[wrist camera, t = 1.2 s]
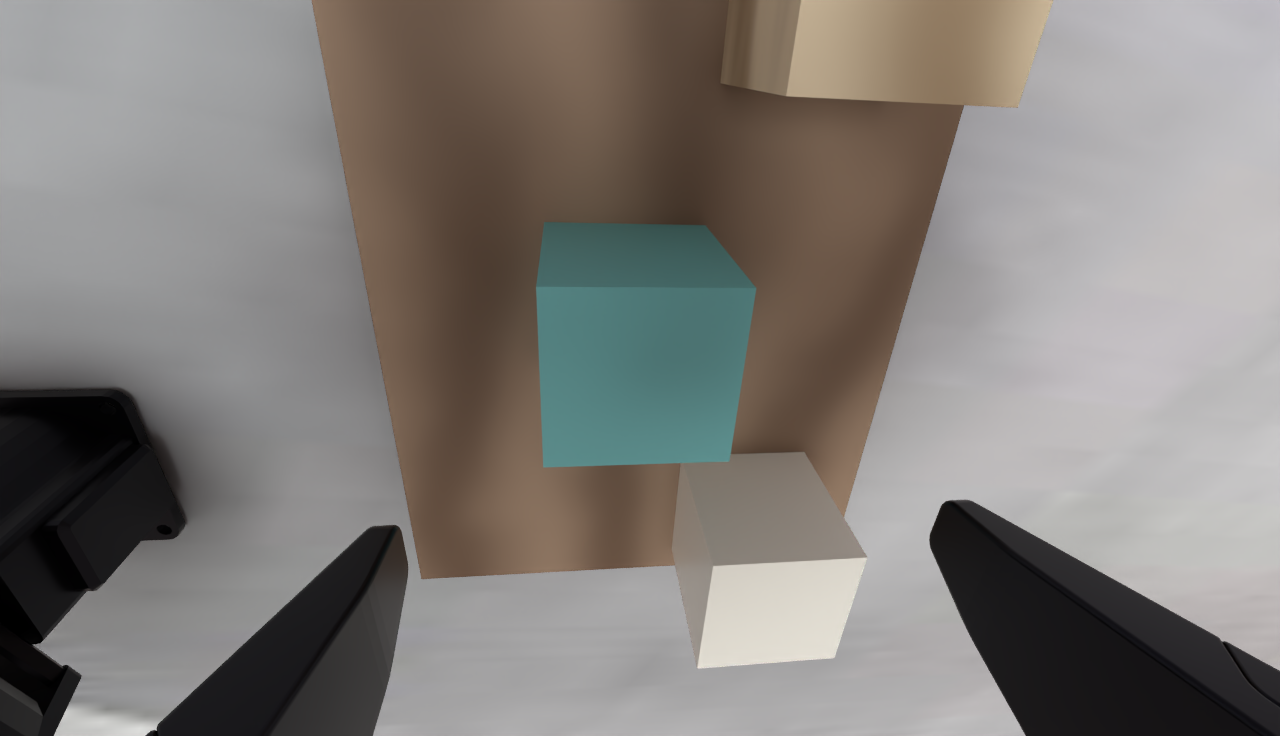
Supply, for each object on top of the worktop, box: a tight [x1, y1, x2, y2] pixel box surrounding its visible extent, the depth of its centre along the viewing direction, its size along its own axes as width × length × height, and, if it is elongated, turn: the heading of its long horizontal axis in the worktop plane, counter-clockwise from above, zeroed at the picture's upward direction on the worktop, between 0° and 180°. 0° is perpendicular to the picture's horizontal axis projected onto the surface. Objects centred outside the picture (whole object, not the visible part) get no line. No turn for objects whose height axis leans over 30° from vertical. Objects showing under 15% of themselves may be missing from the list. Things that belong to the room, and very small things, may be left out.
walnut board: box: [312, 0, 964, 579], centre depth 19 cm, size 18×25×1 cm
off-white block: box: [672, 452, 867, 669], centre depth 21 cm, size 5×5×6 cm
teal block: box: [536, 222, 756, 467], centre depth 16 cm, size 5×5×6 cm
